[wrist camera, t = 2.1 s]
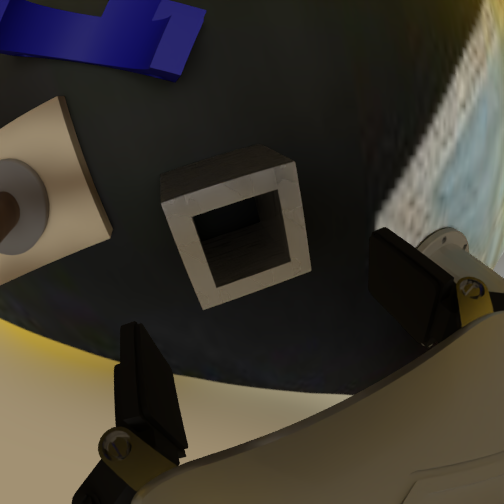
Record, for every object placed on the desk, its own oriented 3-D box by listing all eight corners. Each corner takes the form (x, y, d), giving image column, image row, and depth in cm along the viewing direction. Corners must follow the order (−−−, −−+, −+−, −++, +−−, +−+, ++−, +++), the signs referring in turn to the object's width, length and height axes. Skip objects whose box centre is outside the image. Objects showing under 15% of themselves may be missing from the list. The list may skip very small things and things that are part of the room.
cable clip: (199, 22, 15) (216, -6, 10) (175, 82, 17) (180, 75, 12) (38, -3, 10) (4, -28, 5) (15, 56, 12) (-29, 48, 7)
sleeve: (277, 230, 24) (311, 270, 19) (191, 260, 23) (203, 310, 18) (259, 143, 20) (295, 161, 15) (160, 174, 19) (160, 203, 14)
